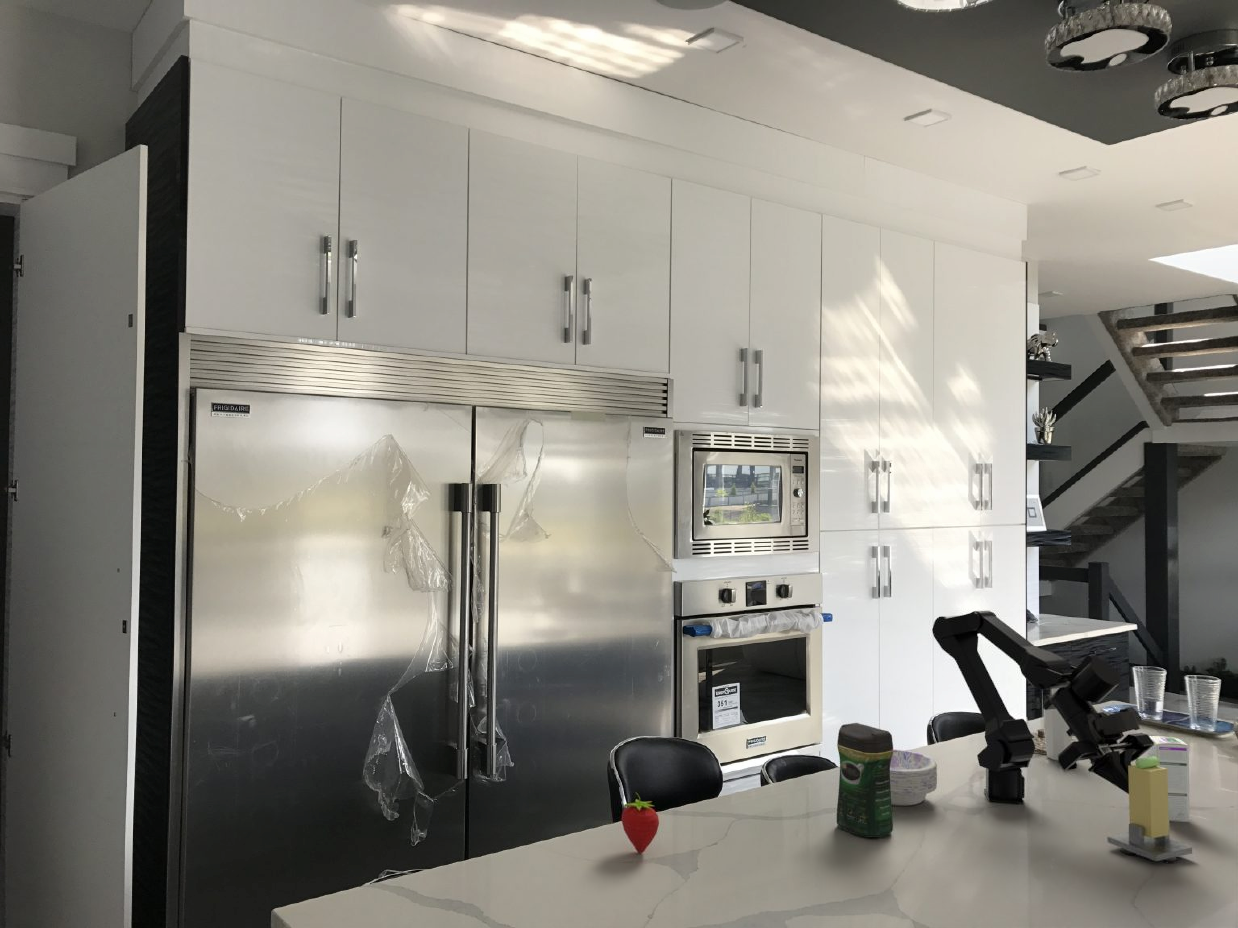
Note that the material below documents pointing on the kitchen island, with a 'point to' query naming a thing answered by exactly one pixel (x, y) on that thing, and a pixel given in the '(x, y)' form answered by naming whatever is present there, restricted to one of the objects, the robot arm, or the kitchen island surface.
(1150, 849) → the base
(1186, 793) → the syrup box
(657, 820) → the strawberry
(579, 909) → the kitchen island surface
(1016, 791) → the robot arm
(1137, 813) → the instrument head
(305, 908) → the kitchen island surface
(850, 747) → the coffee jar
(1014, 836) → the kitchen island surface
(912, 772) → the paper bowls
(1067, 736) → the faceted bottle
